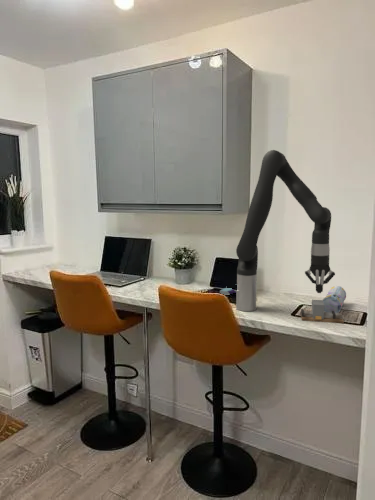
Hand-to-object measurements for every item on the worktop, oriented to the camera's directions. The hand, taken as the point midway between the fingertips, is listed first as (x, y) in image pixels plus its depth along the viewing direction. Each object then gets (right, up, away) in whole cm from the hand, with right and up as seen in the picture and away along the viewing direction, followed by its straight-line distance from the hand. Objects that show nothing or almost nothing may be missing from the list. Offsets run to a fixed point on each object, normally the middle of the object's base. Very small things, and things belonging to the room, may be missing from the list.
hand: (319, 292), depth 159 cm
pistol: (-30, -7, +43) cm, 53 cm away
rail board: (+1, -12, +1) cm, 12 cm away
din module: (0, -11, +2) cm, 11 cm away
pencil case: (+13, -10, +15) cm, 22 cm away
